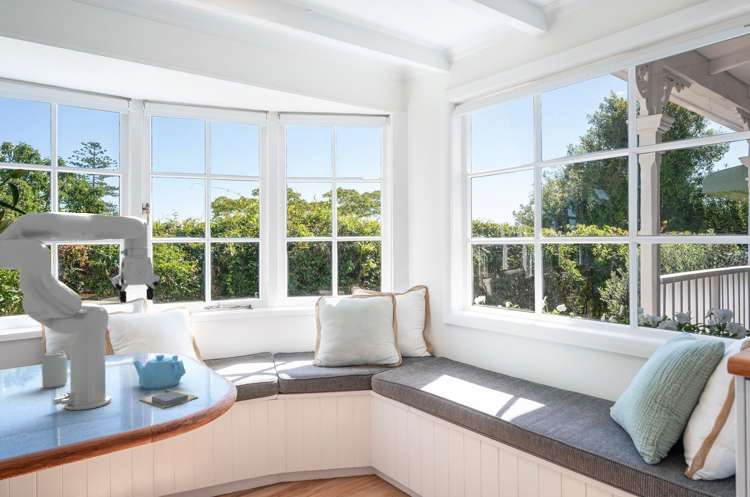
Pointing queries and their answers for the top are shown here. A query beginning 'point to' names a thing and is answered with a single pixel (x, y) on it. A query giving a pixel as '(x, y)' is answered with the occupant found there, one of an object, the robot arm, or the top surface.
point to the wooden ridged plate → (149, 399)
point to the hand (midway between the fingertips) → (136, 301)
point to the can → (54, 369)
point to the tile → (168, 398)
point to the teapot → (160, 372)
